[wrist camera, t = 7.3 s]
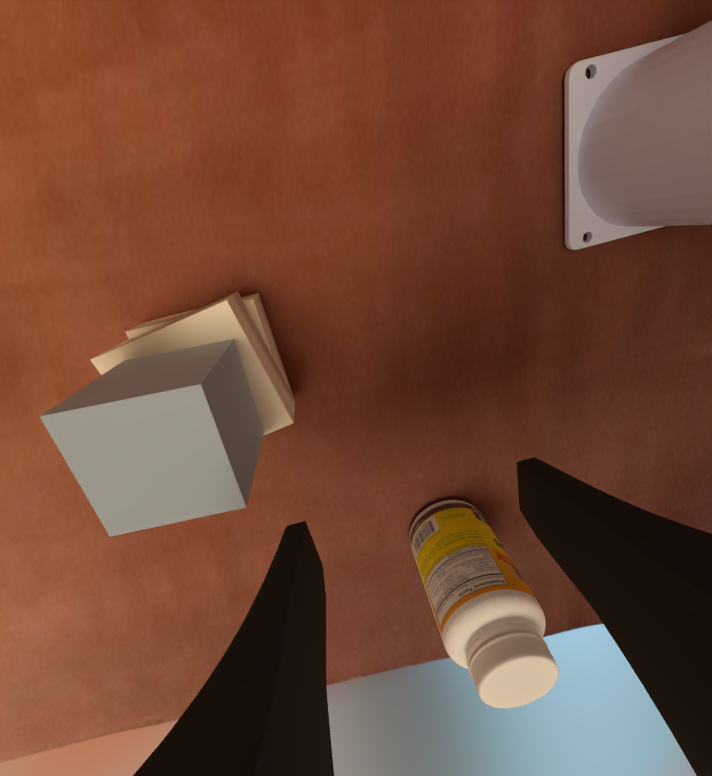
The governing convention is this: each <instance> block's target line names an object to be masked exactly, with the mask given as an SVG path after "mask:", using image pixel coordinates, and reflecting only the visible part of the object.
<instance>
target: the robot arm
mask: <svg viewBox="0 0 712 776" xmlns="http://www.w3.org/2000/svg"><path fill="white" fill-rule="evenodd" d="M587 68H588V69H589V70H590V78H589V79H588V78H587V77H586V74H585V72H586V69H587ZM564 82H565V245H566V247H567V248H568V249H570V250H578V249H582V248H585V247H589V246H593V245H597V244H600V243H604V242H608V241H612V240H615V239H619V238H623V237H627V236H630V235H634V234H638V233H642V232H645V231H649V230H653V229H657V228H660V227H664V226H681V225H712V20H711V21H710V22H708V23H706V24H704V25H702V26H700V27H698V28H696V29H694V30H693V31H691V32H689V33H686V34H683V35H679V36H675V37H671V38H667V39H663V40H659V41H655V42H651V43H648V44H644V45H640V46H636V47H632V48H628V49H624V50H620V51H616V52H612V53H609V54H605V55H601V56H597V57H593V58H589V59H585V60H581V61H579V62H577V63H575V64H573V65H572V66H571V67H570V68H569V69H568V70H567V72H566V74H565V80H564ZM585 233H587V238H586V240H585V241H583V235H584V234H585ZM517 475H518V489H519V504H520V510H521V512H522V514H523V515H524V517H525V519H526V520H527V522H528V524H529V525H530V527H531V528H532V530H533V532H534V533H535V535H536V536H537V538H538V539H539V540H540V542H541V543H542V544H543V546H544V547H545V548H546V549H547V551H548V552H549V553H550V554H551V556H552V557H553V558H554V560H555V561H556V562H557V563H558V565H559V566H560V567H561V568H562V570H563V571H564V572H565V573H566V575H567V576H568V577H569V578H570V580H571V581H572V582H573V583H574V585H575V586H576V587H577V589H578V590H579V591H580V592H581V594H582V595H583V596H584V597H585V599H586V600H587V601H588V603H589V604H590V605H591V607H592V608H593V609H594V611H595V612H596V613H597V615H598V616H599V618H600V619H601V621H602V622H603V624H604V625H605V627H606V628H607V630H608V631H609V633H610V634H611V636H612V637H613V639H614V640H615V642H616V643H617V645H618V646H619V648H620V650H621V651H622V653H623V654H624V656H625V657H626V659H627V661H628V662H629V664H630V665H631V667H632V668H633V670H634V672H635V673H636V675H637V676H638V678H639V679H640V681H641V683H642V684H643V685H644V687H645V689H646V691H647V692H648V694H649V696H650V697H651V699H652V700H653V702H654V704H655V706H656V707H657V709H658V710H659V712H660V714H661V715H662V717H663V719H664V720H665V722H666V724H667V725H668V727H669V729H670V730H671V732H672V733H673V735H674V737H675V739H676V740H677V742H678V744H679V746H680V747H681V749H682V751H683V752H684V754H685V756H686V758H687V759H688V761H689V763H690V765H691V766H692V768H693V770H694V772H695V773H696V775H697V776H712V534H710V533H707V532H704V531H701V530H698V529H695V528H692V527H689V526H686V525H683V524H680V523H677V522H675V521H672V520H669V519H667V518H664V517H661V516H658V515H656V514H653V513H651V512H648V511H646V510H643V509H641V508H638V507H636V506H634V505H632V504H629V503H627V502H625V501H622V500H620V499H618V498H615V497H613V496H611V495H609V494H607V493H605V492H602V491H600V490H598V489H596V488H594V487H592V486H590V485H588V484H586V483H584V482H582V481H580V480H578V479H576V478H574V477H572V476H570V475H568V474H566V473H564V472H562V471H560V470H558V469H557V468H555V467H553V466H551V465H549V464H547V463H545V462H543V461H541V460H539V459H537V458H535V457H534V458H530V459H526V460H523V461H519V462H517ZM133 776H334V771H333V760H332V749H331V739H330V727H329V715H328V703H327V690H326V593H325V583H324V575H323V566H322V562H321V560H320V557H319V555H318V552H317V550H316V547H315V544H314V542H313V539H312V537H311V534H310V532H309V529H308V527H307V524H306V521H303V522H300V523H296V524H292V525H289V526H287V527H286V529H285V531H284V534H283V536H282V539H281V541H280V544H279V547H278V549H277V552H276V554H275V556H274V559H273V561H272V564H271V566H270V568H269V570H268V573H267V575H266V577H265V579H264V582H263V584H262V586H261V588H260V590H259V592H258V594H257V596H256V598H255V600H254V602H253V604H252V606H251V608H250V610H249V612H248V614H247V616H246V618H245V620H244V621H243V623H242V625H241V627H240V629H239V630H238V632H237V634H236V636H235V637H234V639H233V641H232V642H231V644H230V646H229V647H228V649H227V651H226V652H225V654H224V656H223V657H222V659H221V660H220V662H219V663H218V665H217V666H216V668H215V669H214V671H213V673H212V674H211V676H210V677H209V679H208V680H207V682H206V683H205V684H204V686H203V687H202V689H201V690H200V692H199V693H198V695H197V696H196V697H195V699H194V700H193V701H192V703H191V704H190V705H189V707H188V708H187V709H186V711H185V712H184V713H183V715H182V716H181V717H180V719H179V720H178V721H177V723H176V724H175V725H174V727H173V728H172V730H171V731H170V732H169V733H168V735H167V736H166V737H165V738H164V740H163V741H162V742H161V743H160V744H159V746H158V747H157V748H156V749H155V751H154V752H153V753H152V754H151V755H150V756H149V758H148V759H147V760H146V761H145V762H144V763H143V765H142V766H141V767H140V768H139V769H138V771H137V772H136V773H135V774H134V775H133Z"/></svg>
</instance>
